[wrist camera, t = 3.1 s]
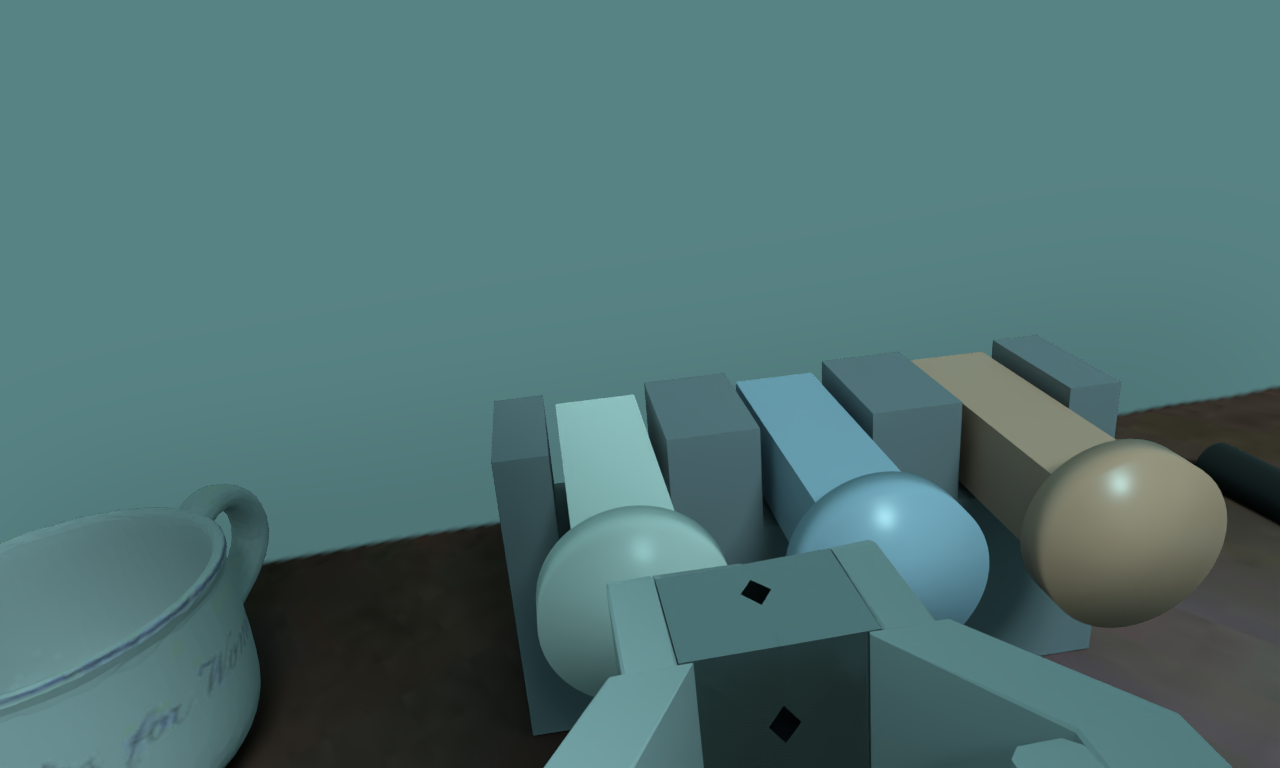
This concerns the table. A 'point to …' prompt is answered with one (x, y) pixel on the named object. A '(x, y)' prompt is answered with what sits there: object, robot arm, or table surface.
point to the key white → (608, 536)
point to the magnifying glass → (1243, 478)
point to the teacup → (131, 637)
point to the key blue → (861, 495)
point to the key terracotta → (1082, 497)
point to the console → (732, 486)
